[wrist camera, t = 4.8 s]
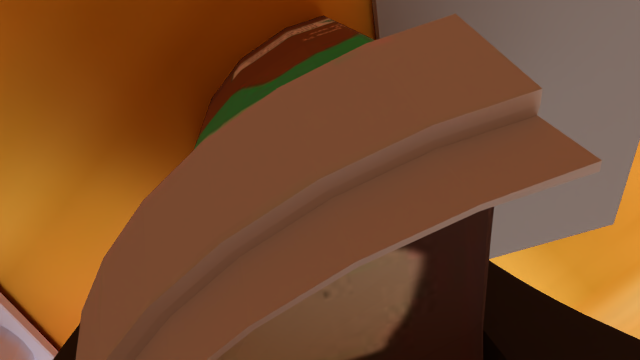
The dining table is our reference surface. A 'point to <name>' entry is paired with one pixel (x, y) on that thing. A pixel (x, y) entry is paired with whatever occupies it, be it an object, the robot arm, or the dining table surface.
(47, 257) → the dining table surface
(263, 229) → the food container
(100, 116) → the dining table surface
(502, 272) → the robot arm
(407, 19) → the mat
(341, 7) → the dining table surface
